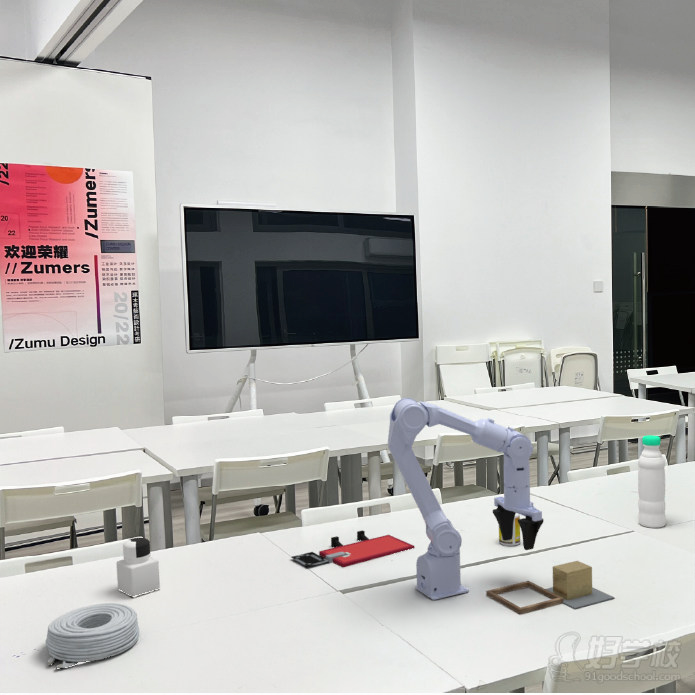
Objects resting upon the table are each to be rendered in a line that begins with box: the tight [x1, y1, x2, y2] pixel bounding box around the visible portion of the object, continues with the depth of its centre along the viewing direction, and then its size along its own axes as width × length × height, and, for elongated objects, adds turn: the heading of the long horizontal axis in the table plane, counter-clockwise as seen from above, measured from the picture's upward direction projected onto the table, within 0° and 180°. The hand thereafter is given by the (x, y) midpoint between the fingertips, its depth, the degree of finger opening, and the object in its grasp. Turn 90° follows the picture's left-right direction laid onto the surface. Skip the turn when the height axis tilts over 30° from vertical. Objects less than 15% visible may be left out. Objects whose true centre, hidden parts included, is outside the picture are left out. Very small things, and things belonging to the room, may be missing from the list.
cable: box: [45, 602, 140, 670], centre depth 150 cm, size 18×18×6 cm
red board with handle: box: [290, 530, 415, 569], centre depth 198 cm, size 30×3×15 cm
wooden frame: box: [486, 580, 564, 615], centre depth 165 cm, size 12×12×1 cm
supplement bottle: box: [498, 513, 521, 547], centre depth 201 cm, size 6×6×10 cm
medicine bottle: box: [115, 537, 161, 596], centre depth 177 cm, size 7×7×12 cm
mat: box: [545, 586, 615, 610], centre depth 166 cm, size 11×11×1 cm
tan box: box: [552, 560, 593, 600], centre depth 166 cm, size 7×4×6 cm, turn 116°
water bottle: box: [637, 434, 666, 529], centre depth 212 cm, size 7×7×25 cm
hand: (517, 544), depth 172 cm, fingers open, 7 cm apart
